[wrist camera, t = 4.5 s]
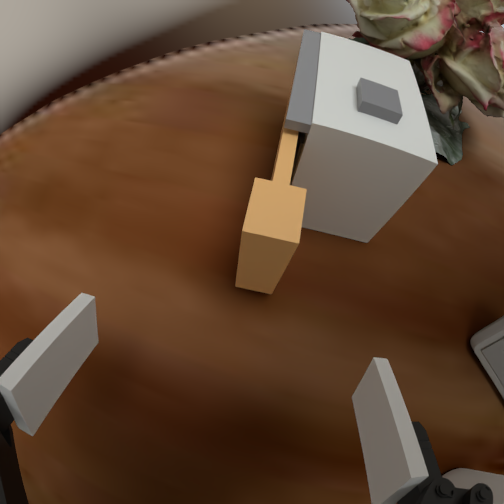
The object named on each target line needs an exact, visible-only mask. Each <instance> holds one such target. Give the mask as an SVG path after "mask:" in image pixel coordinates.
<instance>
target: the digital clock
mask: <svg viewBox="0 0 504 504" xmlns="http://www.w3.org/2000/svg"><path fill="white" fill-rule="evenodd" d="M470 344H471V346H472V348H473V350H474V352H475V354H476V355H477V357H478V358H479V360H480V362H481V364H482V365H483V367H484V368H485V370H486V371H487V373H488V375H489V376H490V378H491V379H492V381H493V382H494V384H495V386H496V387H497V389H498V391H499V392H500V394H501V396H502V397H503V399H504V316H502V317H501V318H499V319H498V320H496V321H495V322H493V323H491V324H490V325H488V326H486V327H485V328H483V329H481V330H480V331H478V332H477V333H475V334H474V335H473V336H472V338H471V340H470Z"/></svg>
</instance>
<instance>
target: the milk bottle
mask: <svg viewBox="0 0 504 504" xmlns="http://www.w3.org/2000/svg"><path fill="white" fill-rule="evenodd" d="M442 478H446V479H449V480H450V481H451V482H452V483H453V484H454V486H455V487H456V488H463V489H471V488H472V487H473V486H474V485H476V484H478V483H484V484H486V485H488V486H489V487H490V488H491V490H492V492H493V504H504V475H499V474H493V473H487V472H482V471H477V470H472V469H466V468H458V469H454V470H451V471H449V472H447V473H446V474H444V475H443V476H442Z"/></svg>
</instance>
